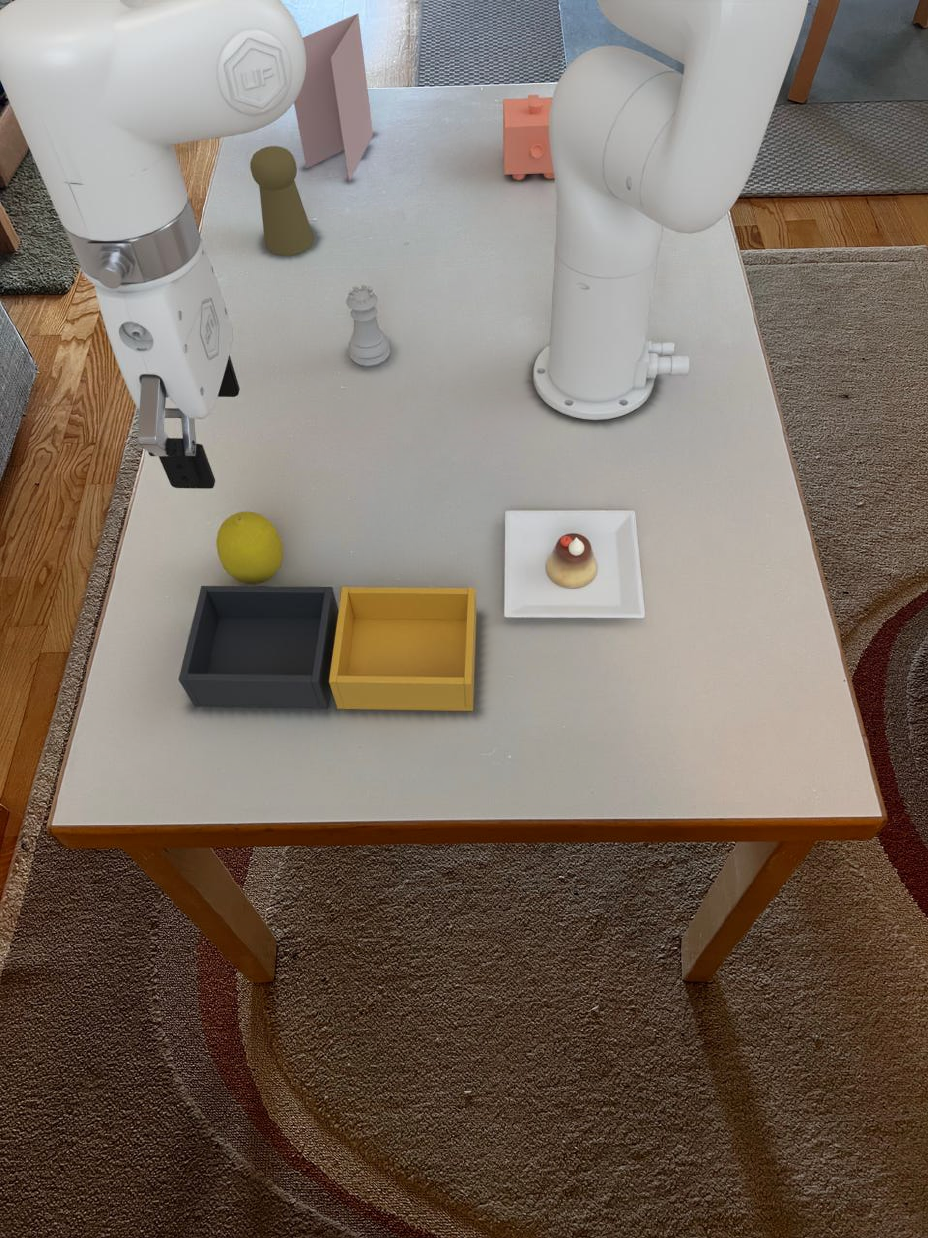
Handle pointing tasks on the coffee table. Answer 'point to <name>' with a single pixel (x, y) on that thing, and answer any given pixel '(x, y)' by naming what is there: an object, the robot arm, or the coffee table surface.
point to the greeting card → (334, 96)
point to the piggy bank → (527, 137)
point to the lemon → (249, 547)
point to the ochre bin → (405, 649)
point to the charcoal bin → (261, 647)
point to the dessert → (572, 564)
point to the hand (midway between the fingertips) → (207, 437)
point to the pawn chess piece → (281, 202)
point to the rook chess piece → (366, 329)
